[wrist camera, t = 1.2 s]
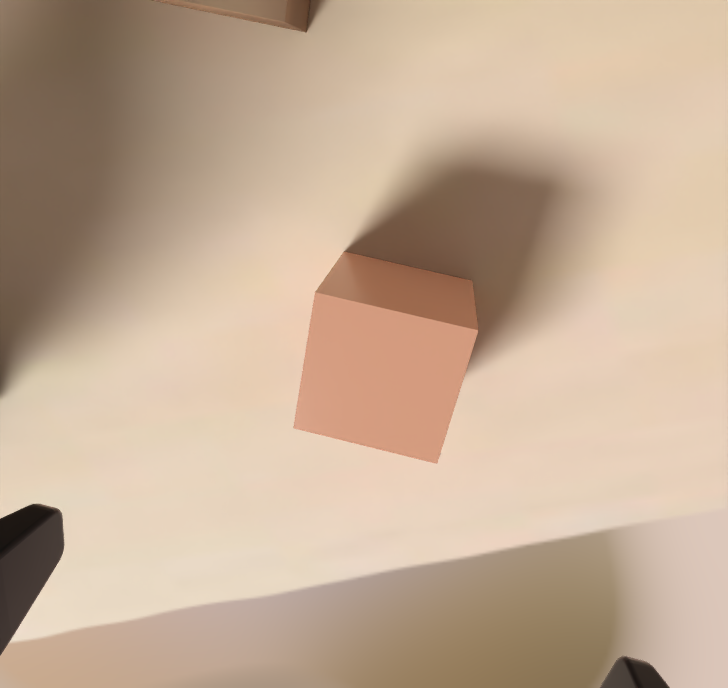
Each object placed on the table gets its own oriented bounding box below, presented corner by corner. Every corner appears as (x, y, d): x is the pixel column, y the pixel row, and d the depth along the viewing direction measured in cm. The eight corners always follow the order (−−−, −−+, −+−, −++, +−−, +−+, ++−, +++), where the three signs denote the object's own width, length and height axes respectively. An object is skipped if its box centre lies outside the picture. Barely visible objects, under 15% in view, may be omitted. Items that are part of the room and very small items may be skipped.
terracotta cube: (324, 363, 21) (293, 428, 16) (344, 250, 19) (315, 292, 15) (439, 391, 20) (437, 463, 16) (472, 279, 18) (478, 330, 14)
